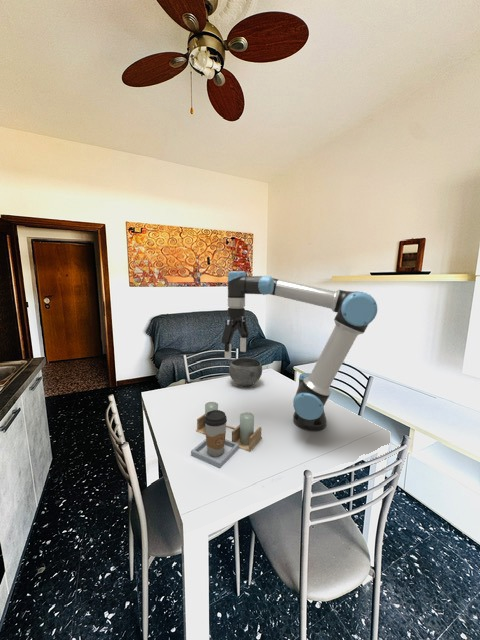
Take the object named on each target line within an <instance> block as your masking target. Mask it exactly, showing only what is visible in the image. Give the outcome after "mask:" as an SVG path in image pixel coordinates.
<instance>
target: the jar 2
mask: <svg viewBox="0 0 480 640" xmlns="http://www.w3.org/2000/svg"><path fill="white" fill-rule="evenodd" d="M239 425H240V443H241V444H242V445H249V437H250V436H251V435H252V434H253V433H254V432H255V431H254V429H255V428H254V427H255V415H254V414H253V413H251V412H248V411H246V412H242V413H240V414H239Z"/></svg>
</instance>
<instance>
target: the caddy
mask: <svg viewBox="0 0 480 640" xmlns="http://www.w3.org/2000/svg"><path fill="white" fill-rule="evenodd" d="M204 421H205V413H204V414H203V415H201V416H200V417H198V418H197V419H196V430H195V432H196V433H199V434H202V435H205V436H206V430H205V422H204ZM226 428H228V429H231V430H232V431H231V441H232V442H235V443H237V444H239V449H240V450H244V451H246V452H248V453H251V451H253V449H254V448H255V447H256V446H257V444H258V443H259V442H260V441H261V440H262V439H263V437H262V426H259V427H258V428H257V429H256V430H255V431H254V433H253V434H252V435H251V436H250V437H249V445H242V444H241V443H240V424H238V425H237V426H236V427H234V426H230V425H228V424H226Z"/></svg>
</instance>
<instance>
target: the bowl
mask: <svg viewBox="0 0 480 640" xmlns="http://www.w3.org/2000/svg"><path fill="white" fill-rule="evenodd" d="M262 373H263V365H262V363H261V361H260V360H258V359H257V358H254V357H253V358H252V357H239V358H235V359H233V360H231V361H230V363H229V367H228V375H229V377H230V379H231V380H232V381H233V383H235V384H236V385H239V386H242V387H243V386H244V387H249V386H252V385H254V384H256V383H257V382H258V381H259V380H260V378H261V377H262Z"/></svg>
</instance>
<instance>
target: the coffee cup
mask: <svg viewBox="0 0 480 640" xmlns="http://www.w3.org/2000/svg"><path fill="white" fill-rule="evenodd" d="M227 421H228V418H227V415H226V412H224V411H223V410H219V409H218V410H212V411H209V412H208V413H207V414H206V416H205V421H204V422H205V428H206V435H205V439H206V444H207V445H206V451H207V455H208V456H210V457H215V458H217V457H220V456H222V455H223V453H224V452H225V446H226V445H225V439H226V436H227V434H226V433H227V432H226V429H227V427H226V425H227Z"/></svg>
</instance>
